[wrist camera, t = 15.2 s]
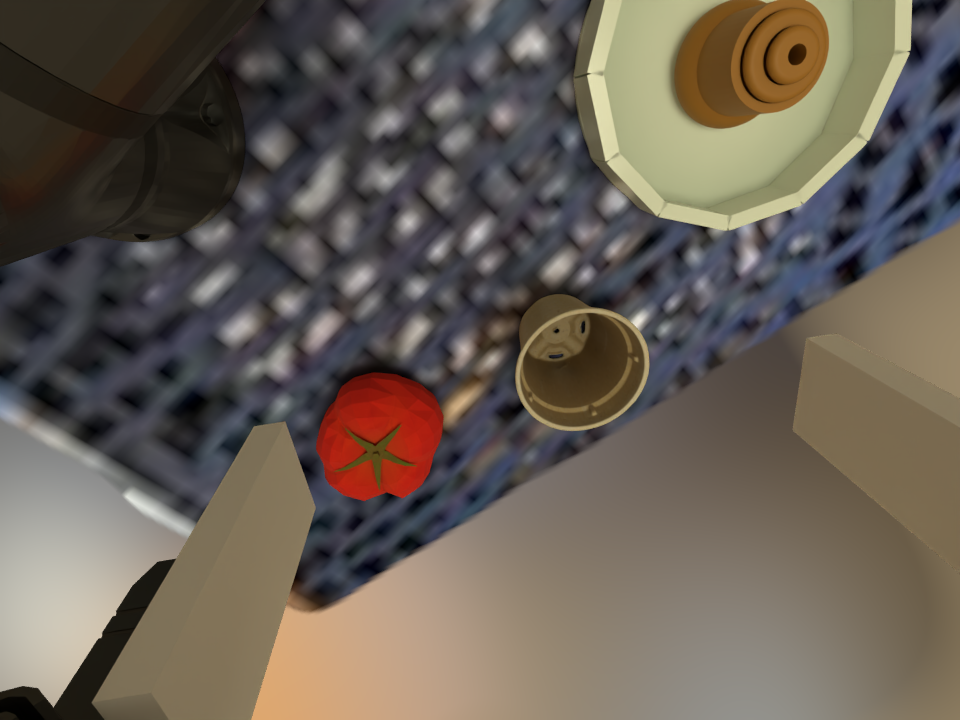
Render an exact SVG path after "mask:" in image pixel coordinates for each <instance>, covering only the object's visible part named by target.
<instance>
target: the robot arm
mask: <svg viewBox="0 0 960 720" xmlns="http://www.w3.org/2000/svg"><path fill="white" fill-rule="evenodd" d="M265 1H266V0H0V267H1V266H4V265H7V264H10V263H13V262H16V261H18V260H21V259H24V258H27V257H30V256H33V255H36V254H39V253H42V252H44V251H47V250H50V249H53V248H56V247H59V246H62V245H65V244H67V243H70V242H73V241H76V240H79V239H82V238H85V237H88V236H97V237H102V238H108V239H113V240H120V241H128V242H150V241H158V240H164V239H168V238H172V237H175V236H178V235H181V234H183V233H185V232H188V231H190V230H192V229H194V228H197V227H199V226H200V225H202V224H204V223H206V222H207V221H209V220H210V219H211V218H213V217H214V216H215V215H216V214H217V213H218V212H219V211H220V210H221V209H222V208H223V207H224V206H225V205H226V203H227V202H228V201H229V199H230V198H231V196H232V194H233V193H234V191H235V189H236V187H237V184H238V182H239V179H240V176H241V172H242V168H243V164H244V156H245V133H244V125H243V119H242V115H241V110H240V107H239V104H238V101H237V98H236V95H235V93H234V90H233V88H232V86H231V83H230V81H229V79H228V77H227V76H226V74H225V72H224V70H223V69H222V67H221V65H220V64H219V62H218V61H217V59H216V58H215V57H216V56H217V54H218V53H219V52H220V51H221V50H222V49H223V48H224V47H225V45H226V44H227V43H228V42H229V41H230V40H231V39H232V38H233V36H234V35H235V34H236V33H237V32H238V31H239V30H240V29H241V28H242V26H243V25H244V24H245V23H246V22H247V21H248V20H249V19H250V17H251V16H252V15H253V14H254V13H255V12H256V11H257V10H258V8H259V7H260V6H261V5H262V4H263V3H264V2H265ZM793 431H794V432H795V433H796V434H798V435H799V436H800V437H801V438H802V439H803V440H805V441H806V442H807V443H808V444H809V445H810V446H812V447H813V448H814V449H815V450H816V451H817V452H819V453H820V454H821V455H822V456H823V457H825V458H826V459H827V460H828V461H829V462H830V463H831V464H832V465H834V466H835V467H836V468H837V469H838V470H840V471H841V472H842V473H843V474H844V475H845V476H846V477H848V478H849V479H850V480H851V481H852V482H853V483H855V484H856V485H857V486H858V487H859V488H860V489H862V490H863V491H864V492H865V493H866V494H867V495H869V496H870V497H871V498H872V499H873V500H874V501H875V502H877V503H878V504H879V505H880V506H881V507H882V508H884V509H885V510H886V511H887V512H888V513H890V514H891V515H892V516H893V517H894V518H895V519H896V520H898V521H899V522H900V523H901V524H902V525H903V526H905V527H906V528H907V529H908V530H909V531H910V532H912V533H913V534H914V535H915V536H916V537H917V538H919V539H920V540H921V541H922V542H923V543H924V544H926V545H927V546H928V547H929V548H930V549H931V550H932V551H934V552H935V553H936V554H937V555H938V556H940V557H941V558H942V559H943V560H944V561H945V562H947V563H948V564H949V565H950V566H951V567H952V568H953V569H955V570H956V571H957V572H958V573H959V574H960V398H958V397H956V396H954V395H952V394H950V393H949V392H947V391H945V390H943V389H941V388H939V387H937V386H935V385H933V384H932V383H930V382H928V381H926V380H924V379H922V378H920V377H918V376H916V375H914V374H912V373H911V372H909V371H907V370H905V369H903V368H901V367H899V366H897V365H895V364H894V363H892V362H890V361H888V360H886V359H884V358H882V357H880V356H878V355H876V354H875V353H873V352H871V351H869V350H867V349H865V348H863V347H861V346H859V345H857V344H855V343H853V342H852V341H850V340H848V339H846V338H844V337H842V336H840V335H838V334H837V333H835V334H829V335H823V336H817V337H811V338H807V339H806V344H805V351H804V358H803V364H802V371H801V377H800V385H799V391H798V397H797V404H796V411H795V418H794V424H793ZM314 511H315V505H314V502H313V499H312V496H311V493H310V491H309V488H308V485H307V482H306V479H305V476H304V474H303V471H302V468H301V465H300V462H299V459H298V457H297V454H296V451H295V448H294V445H293V442H292V440H291V437H290V434H289V431H288V428H287V425H286V423H285V422H279V423H273V424H266V425H260V426H254V428H253V429H252V431H251V433H250V434H249V436H248V438H247V440H246V441H245V443H244V445H243V446H242V448H241V450H240V451H239V453H238V455H237V457H236V458H235V460H234V462H233V463H232V465H231V467H230V468H229V470H228V472H227V474H226V475H225V477H224V479H223V480H222V482H221V484H220V485H219V487H218V489H217V491H216V492H215V494H214V496H213V497H212V499H211V501H210V502H209V504H208V506H207V508H206V509H205V511H204V513H203V514H202V516H201V518H200V519H199V521H198V523H197V525H196V526H195V528H194V530H193V531H192V533H191V535H190V536H189V538H188V540H187V542H186V543H185V545H184V547H183V548H182V550H181V552H180V553H179V555H178V557H177V559H172V560H166V561H159V562H157V563H156V564H155V565H154V566H153V567H152V568H151V569H150V570H149V571H148V572H147V573H145V574H144V575H143V576H142V577H141V578H140V579H139V580H138V581H137V582H136V583H135V584H134V585H133V586H132V587H131V589H130V591H129V592H128V594H127V595H126V597H125V598H124V600H123V601H122V603H121V604H120V606H119V607H118V609H117V611H116V616H113V617H112V618H111V620H110V622H109V623H108V624H107V626H106V628H105V629H104V631H103V633H102V638H99V639H98V640H97V641H96V643H95V644H94V646H93V648H92V649H91V651H90V652H89V654H88V655H87V657H86V659H85V660H84V662H83V663H82V665H81V666H80V668H79V669H78V671H77V673H76V674H75V675H74V677H73V678H72V680H71V682H70V683H69V685H68V686H67V688H66V689H65V691H64V692H63V694H62V695H61V697H60V698H59V700H58V702H57V703H56V705H55V706H54V708H53V706H52V705H51V704H50V703H49V702H48V700H47V699H46V698H45V697H44V695H43V694H42V693H41V692H40V690H39V689H38V688H32V687H25V686H22V687H17V688H14V689H10V690H6V691H2V692H0V720H251V718H252V715H253V711H254V708H255V705H256V701H257V698H258V695H259V692H260V688H261V685H262V682H263V679H264V675H265V672H266V669H267V665H268V662H269V659H270V656H271V652H272V649H273V646H274V643H275V639H276V636H277V632H278V629H279V626H280V623H281V620H282V616H283V613H284V610H285V606H286V603H287V600H288V597H289V593H290V590H291V587H292V584H293V580H294V577H295V574H296V570H297V567H298V564H299V561H300V557H301V554H302V551H303V548H304V544H305V541H306V538H307V534H308V531H309V528H310V525H311V521H312V518H313V515H314Z"/></svg>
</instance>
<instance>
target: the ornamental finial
mask: <svg viewBox="0 0 960 720" xmlns="http://www.w3.org/2000/svg"><path fill="white" fill-rule="evenodd" d="M828 50H829V33H828V28H827V24H826V22H825V19H824V17H823V16H822V14H821V12H820V11H819V10H818V9H817V8H816V7H815V6H814V5H813V4H811V3H810V2H808V1H806V0H776V1H773V2H769V3H765V2H763V1H760V0H730V1H727V2H724V3H721V4H719V5H717V6H716V7H714V8H712V9H711V10H709V11H708V12H707V13H705V14H704V15H703V16H702V17H701V18H700V19H699V20H698V21H697V22H696V23H695V24H694V25H693V27H692V28H691V29H690V31H689V32H688V34H687V35H686V37H685V39H684V41H683V43H682V45H681V47H680V49H679V52H678V55H677V59H676V64H675V71H674V83H675V90H676V94H677V97H678V100H679V102H680V104H681V106H682V108H683V109H684V111H685V112H686V113H687V114H688V116H689V117H691V118H692V119H693V120H694V121H696V122H697V123H699V124H701V125H703V126H706V127H710V128H716V129H725V128H732V127H736V126H739V125H742V124H744V123H746V122H748V121H750V120H752V119H754V118H755V117H757V116H758V115H759V114H766V113H775V112H779V111H783V110H785V109H788V108H790V107H792V106H793V105H795V104H796V103H798V102H799V101H800V100H802V99H803V98H804V97H805V96H806V95H807V94H808V93H809V92H810V91H811V89H812V88H813V87H814V85H815V84H816V82H817V81H818V79H819V77H820V75H821V73H822V71H823V69H824V66H825V63H826V60H827V56H828Z"/></svg>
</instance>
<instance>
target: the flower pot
mask: <svg viewBox="0 0 960 720" xmlns="http://www.w3.org/2000/svg"><path fill="white" fill-rule="evenodd" d="M583 321H585V331H584V332H583V333H581V328H580V327H581V324H582V322H583ZM555 329H559V332H558V333H555V332H554V330H555ZM519 337H520V345H521V352H520V354H519V357H518V360H517V364H516V371H515V382H516V388H517V392H518V395H519V398H520V400H521V402H522V403H523V405H524V407H525V408H526V409H527V410H528V412H529V413H530V414H531V415H532V416H533V417H534V418H536V419H537V420H538V421H540V422H541V423H543V424H545V425H548V426H550V427H553V428H556V429H560V430H566V431H567V430H568V431H580V430H586V429H591V428H595V427H598V426H601V425H603V424H606V423H608V422H610V421H612V420H614V419H615V418H617V417H618V416H620V415H621V414H622V413H624V412H625V411H626V410H627V409H628V408H629V407H630V406H631V405H632V404H633V403H634V402H635V400H636V399H637V398H638V396H639V395H640V393H641V392H642V390H643V387H644V386H645V383H646V380H647V376H648V373H649V353H648V349H647V345H646V342H645V340H644V338H643V336H642V335H641V333H640V331H639V330H638V329H637V328H636V327H635V326H634V325H633V324H632V323H631V322H630V321H629V320H628V319H626V318H625V317H623V316H621V315H619V314H617V313H615V312H612V311H610V310H606V309H602V308H594V307H590V306H588V305H586V304H585V303H583V302H582V301H580V300H579V299H577V298H575V297H572V296H569V295H564V294H554V295H549V296H546V297H543V298H541V299H539V300H537V301H536V302H535V303H534V304H533V305H532V306H531V307H530V308H529V309H528V310H527V311H526V313H525V314H524V316H523V317H522V320H521V323H520V327H519ZM556 354H563V356H562V357H560V358H555V359H552V358H549V355H556Z"/></svg>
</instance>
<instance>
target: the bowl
mask: <svg viewBox="0 0 960 720" xmlns="http://www.w3.org/2000/svg"><path fill="white" fill-rule="evenodd" d="M727 1H730V0H591V2H590V5H589V7H588V10H587V12H586V15H585V19H584V22H583V25H582V29H581V32H580V36H579V42H578V47H577V53H576V60H575V71H574V75H573V77H574V79H573V82H574V86H575V102H576V108H577V114H578V120H579V123H580V127H581V130H582V133H583V137H584V140H585V142H586V144H587V146H588V149H589V152H590V157H591V158H593V159H592V161H593V162H594V163H595V164H596V165H597V166H598V167H599V168H600V170H601V171H602V172H603V174H604V175H605V176H606V177H607V178H608V180H609V181H610V182H611V183H612V184H613V185H614V186H615V187H616V188H618V189H619V190H620V191H621V192H622V193H623V194H624V195H626V196H627V197H628V198H629V199H630V200H631V201H632V202H633V203H634V204H635V205H636V206H637V207H638V208H639V209H641V210H643V211H646V212H648V213H650V214H653V215H655V216H657V217H661V218H666V219H671V220H676V221H681V222H686V223H691V224H696V225H701V226H706V227H711V228H716V229H721V230H726V231H727V230H732V229H735V228H738V227H740V226H743V225H746V224H749V223H752V222H755V221H758V220H760V219H763V218H766V217H769V216H772V215H775V214H778V213H780V212H783V211H786V210H789V209H792V208H795V207H798V206H800V205H801V203H802V204H804V203H805V202H806V201H807V200H808V199H809V198H810V197H811V196H812V195H813V194H814V193H815V192H816V191H817V190H819V189H820V188H821V187H822V186H823V185H824V184H825V183H826V182H827V181H828V180H829V179H830V178H831V177H832V176H833V175H834V174H835V173H836V172H837V171H838V170H840V169H841V168H842V167H843V166H844V165H845V164H846V163H847V162H848V161H849V160H850V159H851V158H852V157H853V156H854V155H855V154H856V153H857V152H858V151H859V150H860V149H862V148H863V147H864V146H865V145H866V144H867V142H866V141H869V139H870V137H871V135H872V133H873V131H874V129H875V127H876V124H877V122H878V120H879V118H880V116H881V114H882V111H883V109H884V107H885V105H886V103H887V101H888V99H889V96H890V94H891V92H892V90H893V88H894V86H895V84H896V81H897V79H898V77H899V75H900V73H901V71H902V68H903V66H904V64H905V62H906V60H907V58H908V56H909V53H908V52H907V51H909V50H910V48H911V15H912V0H806V1H808V2H810V3H811V4H813V5H814V6H815V7H816V8H817V9H818V10H819V11H820V12H821V14H822V16H823V17H824V19H825V22H826V24H827V28H828V33H829V50H828V56H827V60H826V63H825V66H824V69H823V71H822V73H821V75H820V77H819V79H818V81H817V82H816V84H815V85H814V87H813V88H812V89H811V91H810V92H809V93H808V94H807V95H806V96H805V97H804V98H803V99H802V100H800V101H799V102H798V103H796V104H795V105H793V106H792V107H790V108H788V109H785V110H783V111H779V112H775V113H766V114H759V115H758V116H757V117H755V118H754V119H752V120H750V121H748V122H746V123H744V124H742V125H739V126H736V127H732V128H725V129H716V128H710V127H706V126H703V125H701V124H699V123H697V122H696V121H694V120H693V119H692V118H691V117H689V116H688V114H687V113H686V112H685V111H684V109H683V108H682V106H681V104H680V102H679V100H678V97H677V94H676V90H675V83H674V71H675V64H676V59H677V55H678V52H679V49H680V47H681V45H682V43H683V41H684V39H685V37H686V35H687V34H688V32H689V31H690V29H691V28H692V27H693V25H694V24H695V23H696V22H697V21H698V20H699V19H700V18H701V17H702V16H703V15H704V14H705V13H707V12H708V11H709V10H711V9H712V8H714V7H716V6H717V5H719V4H721V3H724V2H727ZM760 1H763V2H765V3H769V2H773V1H776V0H760Z"/></svg>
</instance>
